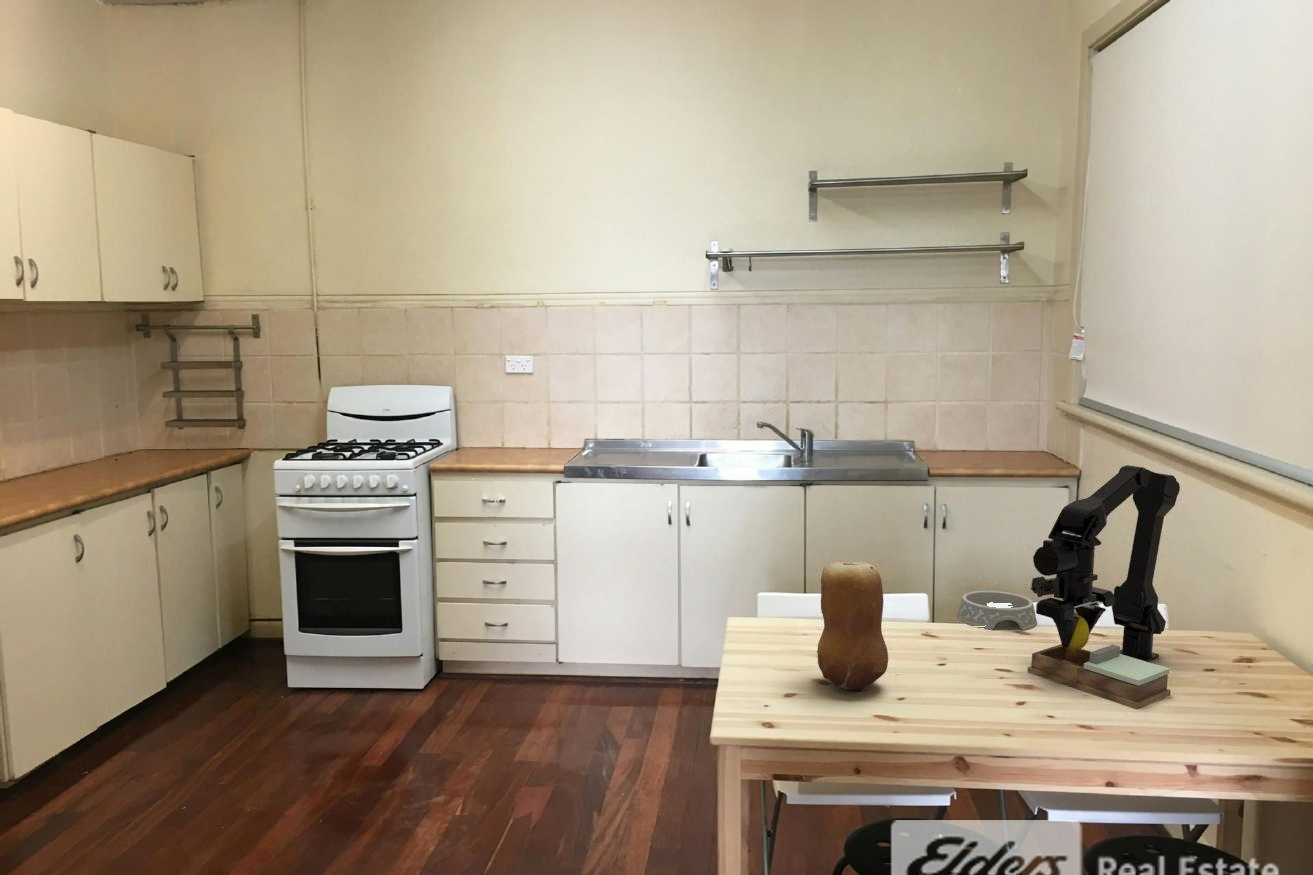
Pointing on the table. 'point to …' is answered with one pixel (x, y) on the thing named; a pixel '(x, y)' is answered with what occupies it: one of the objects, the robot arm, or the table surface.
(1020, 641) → the table surface
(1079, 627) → the lemon
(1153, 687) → the wooden box
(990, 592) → the dog bowl
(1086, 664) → the slide cover
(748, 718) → the table surface
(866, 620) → the butternut squash
